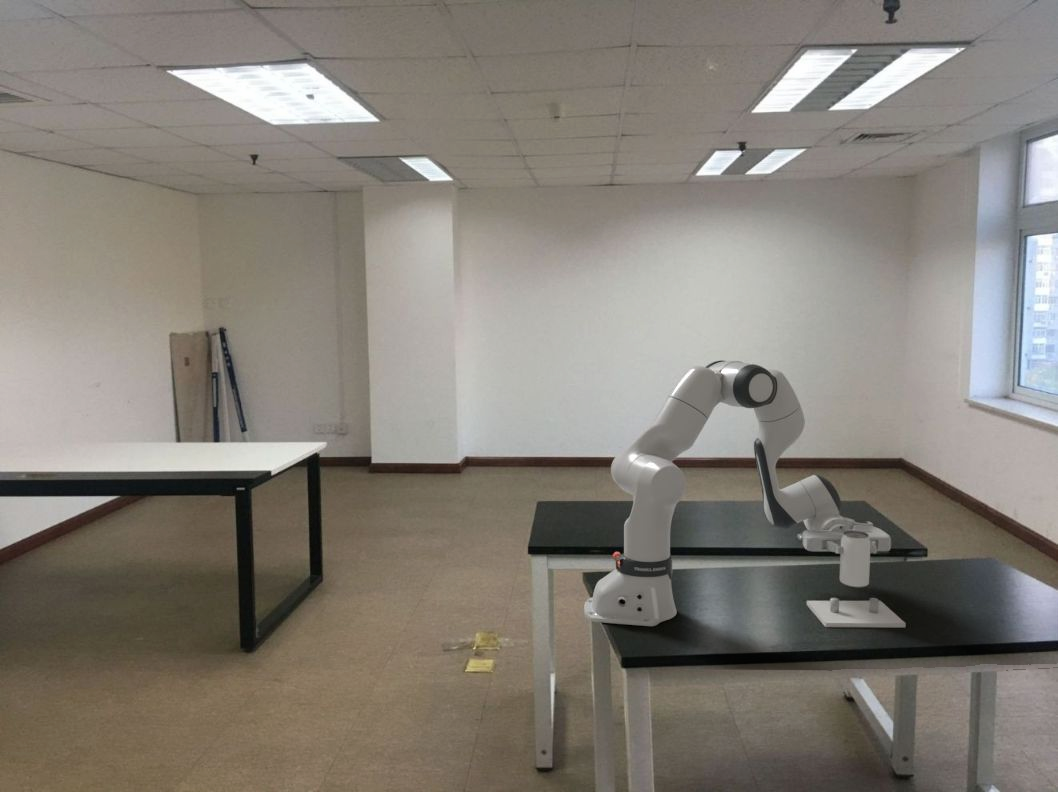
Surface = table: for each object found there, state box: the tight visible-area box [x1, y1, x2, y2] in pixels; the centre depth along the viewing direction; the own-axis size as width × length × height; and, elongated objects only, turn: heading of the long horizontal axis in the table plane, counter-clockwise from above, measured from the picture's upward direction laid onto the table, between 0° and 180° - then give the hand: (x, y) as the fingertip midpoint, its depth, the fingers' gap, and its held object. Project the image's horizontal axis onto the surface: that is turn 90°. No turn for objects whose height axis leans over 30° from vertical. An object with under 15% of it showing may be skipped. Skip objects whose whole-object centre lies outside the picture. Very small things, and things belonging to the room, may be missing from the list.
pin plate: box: [806, 597, 906, 628], centre depth 182 cm, size 18×14×4 cm
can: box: [839, 531, 871, 588], centre depth 181 cm, size 6×6×12 cm
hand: (857, 550), depth 180 cm, fingers closed on can, 6 cm apart
